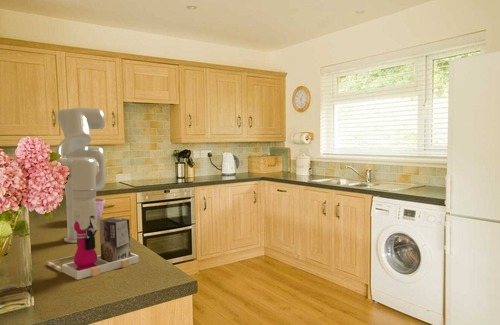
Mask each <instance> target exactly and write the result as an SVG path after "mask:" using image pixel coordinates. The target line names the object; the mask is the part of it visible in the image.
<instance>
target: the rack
mask: <svg viewBox="0 0 500 325" xmlns="http://www.w3.org/2000/svg"><path fill="white" fill-rule="evenodd" d="M130 254H131V257H129V258H125V259H121V260H118V261H114V262H107V261H105V260H102V259H101V254H100V255H99V254H98V255H97V261H96V262H95V263H94V264H95V265H96V266H95V267H92V268H88V269H84V270H80V271H78V270H76V268H77V267H78V266H77V265H76V264H75V263H74V261H71V262H67V263H63V264H62V265H61V267H62V272H61V273H64V274H66V275H68V276H69V277H71V276H72V277H71V278H73V277H74V279H75V280H82V279H85V278H88V277H96V276H100V275H101V274H103V273H107V272H110V271H113V270H117V269H120V268H122V269H123V268H128V267H130V265H134V264H138V263H139V262H140V256H139V255H138V254H136V253H133V252H130Z"/></svg>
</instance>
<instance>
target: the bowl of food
mask: <svg viewBox="0 0 500 325" xmlns="http://www.w3.org/2000/svg"><path fill="white" fill-rule="evenodd" d="M95 201H96V207H97V219H100V218H101V216H102V214H103V210H104V206H105V202H106V199H104V198H97V197H96V199H95Z"/></svg>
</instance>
